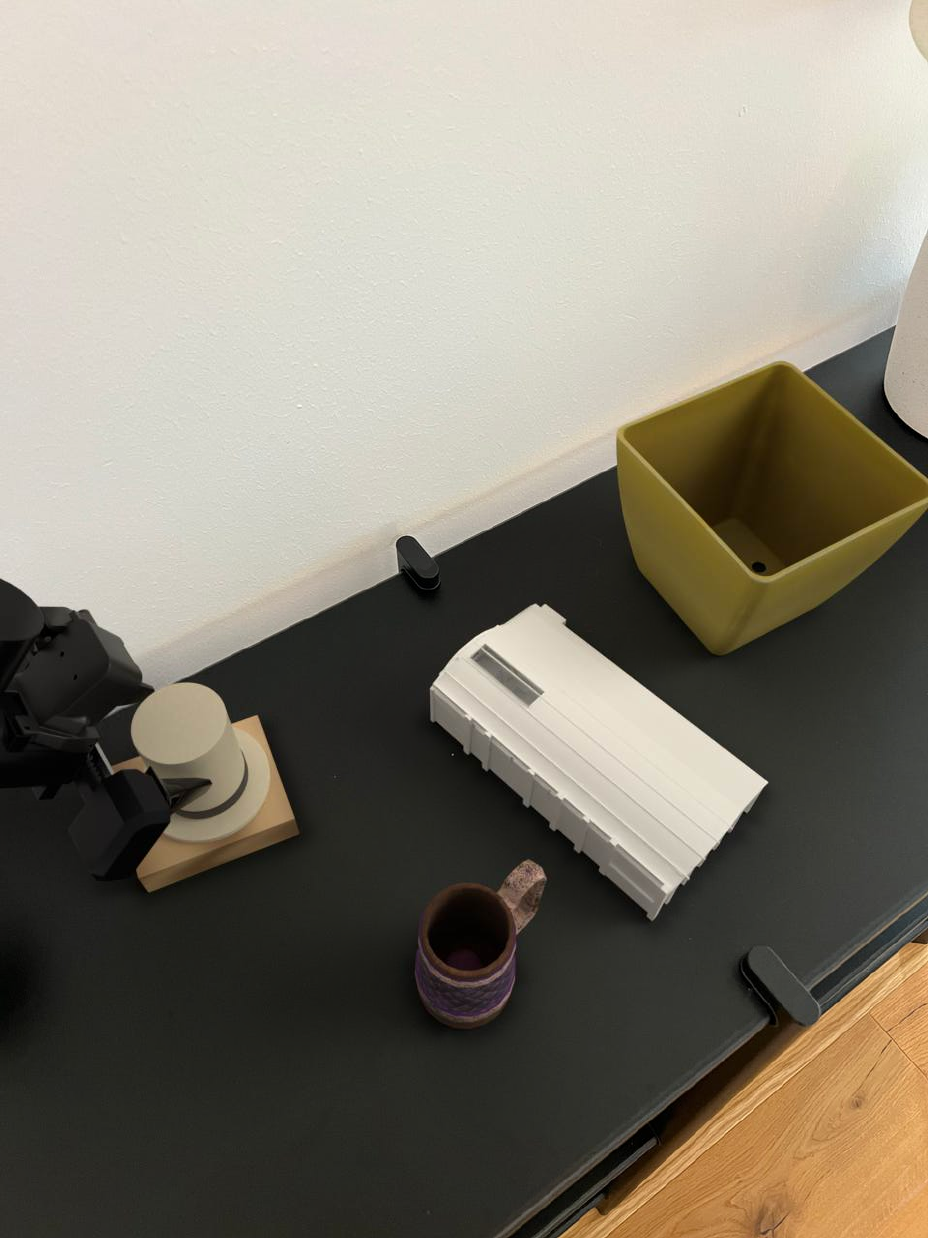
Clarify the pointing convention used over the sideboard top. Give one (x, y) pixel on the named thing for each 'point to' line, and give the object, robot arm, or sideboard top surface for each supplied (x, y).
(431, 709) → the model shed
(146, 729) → the hat
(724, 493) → the flower pot
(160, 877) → the wooden block
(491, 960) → the mug
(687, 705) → the sideboard top surface
